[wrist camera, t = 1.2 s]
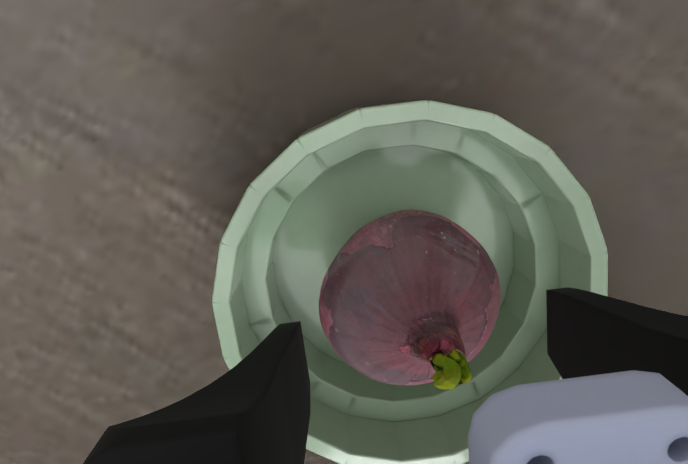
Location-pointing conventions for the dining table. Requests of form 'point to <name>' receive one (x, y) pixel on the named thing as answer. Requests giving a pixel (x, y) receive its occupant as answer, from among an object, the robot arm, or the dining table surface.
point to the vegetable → (410, 300)
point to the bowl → (384, 198)
